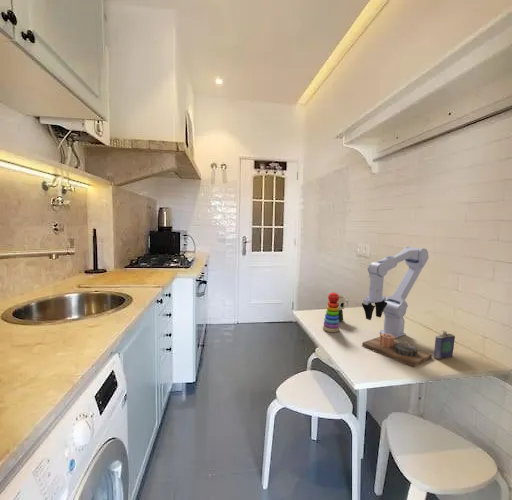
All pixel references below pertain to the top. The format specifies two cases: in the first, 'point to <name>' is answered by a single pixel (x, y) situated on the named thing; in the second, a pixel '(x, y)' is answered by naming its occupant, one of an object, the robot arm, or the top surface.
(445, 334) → the flask
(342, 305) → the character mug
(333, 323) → the stacking toy
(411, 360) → the board
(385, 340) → the terracotta gear
